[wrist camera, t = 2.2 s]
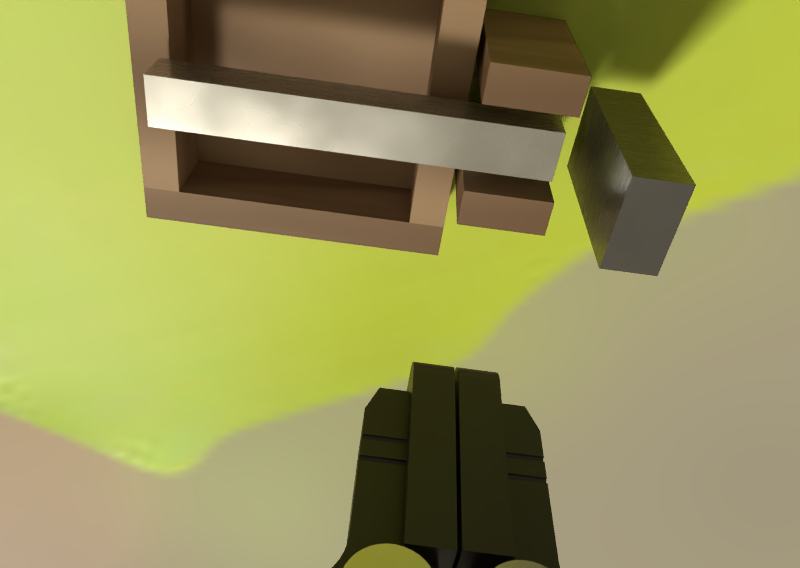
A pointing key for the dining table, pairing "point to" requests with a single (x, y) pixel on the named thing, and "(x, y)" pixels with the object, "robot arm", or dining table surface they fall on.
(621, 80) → the dining table surface
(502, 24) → the dock
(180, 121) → the pin
